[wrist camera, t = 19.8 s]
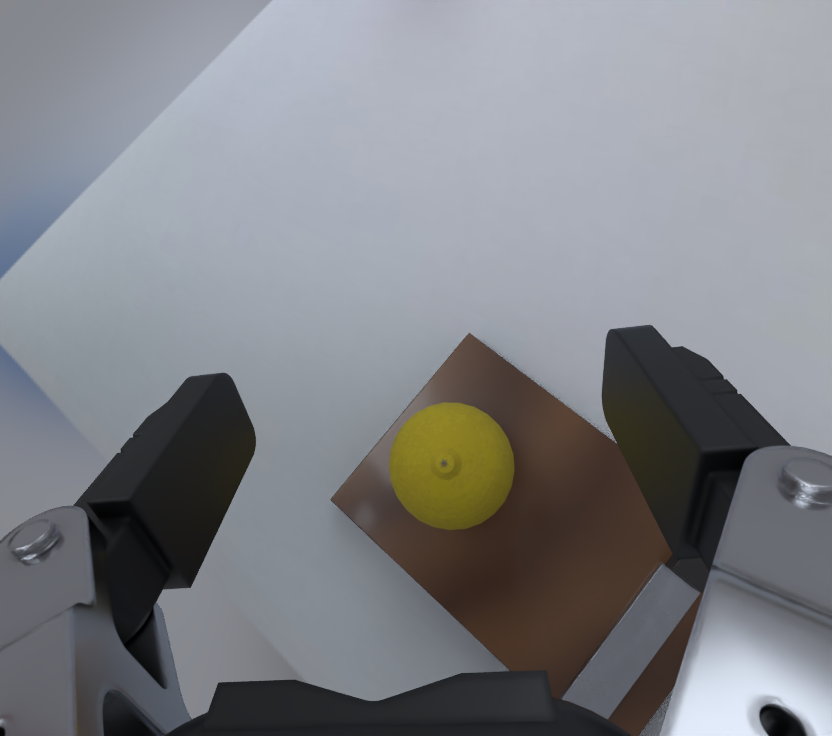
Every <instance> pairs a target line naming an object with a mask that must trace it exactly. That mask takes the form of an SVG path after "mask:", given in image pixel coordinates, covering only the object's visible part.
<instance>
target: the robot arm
mask: <svg viewBox="0 0 832 736" xmlns="http://www.w3.org/2000/svg"><path fill="white" fill-rule="evenodd" d="M602 405H603V411H604V415H605V419H606V421H607V424H608V426H609V428H610V430H611V432H612V434H613V436H614V438H615V440H616V442H617V444H618V446H619V448H620V450H621V452H622V454H623V456H624V458H625V460H626V462H627V464H628V466H629V468H630V470H631V472H632V474H633V476H634V478H635V480H636V482H637V484H638V486H639V488H640V490H641V492H642V494H643V496H644V498H645V500H646V502H647V504H648V506H649V508H650V510H651V512H652V514H653V516H654V518H655V520H656V522H657V524H658V526H659V528H660V530H661V532H662V534H663V536H664V538H665V540H666V542H667V544H668V546H669V548H670V550H671V552H672V554H673V556H674V558H675V560H679V559H695V558H702V560H703V562H704V564H705V566H706V568H707V569H708V571H709V577H708V580H707V583H706V586H705V589H704V593H703V596H702V599H701V602H700V606H699V609H698V612H697V615H696V618H695V622H694V625H693V628H692V631H691V635H690V638H689V641H688V644H687V648H686V651H685V654H684V657H683V660H682V664H681V667H680V670H679V673H678V677H677V680H676V683H675V686H674V689H673V693H672V696H671V699H670V702H669V706H668V709H667V712H666V715H665V719H664V722H663V725H662V728H661V731H660V735H659V736H832V456H830V455H828V454H825V453H822V452H819V451H815V450H812V449H807V448H803V447H796V446H791V445H790V444H789V443H788V442H787V441H786V440H785V439H784V438H783V437H782V436H781V435H780V434H779V433H778V432H777V431H776V430H775V429H774V428H773V427H772V426H771V425H770V424H769V423H768V422H767V421H766V420H765V419H764V417H763V416H762V415H761V414H760V413H759V412H758V411H757V410H756V409H755V408H754V407H753V406H752V405H751V404H750V403H749V402H748V401H747V400H746V399H745V398H744V397H743V396H742V395H741V394H738V393H737V389H736V388H735V387H734V386H733V385H732V384H731V383H730V382H729V381H728V380H727V379H726V380H724V378H723V375H722V374H721V373H720V372H719V371H718V370H717V369H716V368H715V367H714V366H713V365H712V364H711V362H710V361H709V360H708V359H706V358H704V357H702V356H700V355H698V354H696V353H694V352H692V351H690V350H688V349H686V348H685V347H683V346H681V347H671V346H670V345H669V344H668V343H667V342H666V340H665V339H664V338H663V337H662V336H661V335H660V334H659V332H658V331H657V330H656V329H655V328H654V327H653V326H651V325H644V326H635V327H627V328H618V329H611V330H609V332H608V334H607V338H606V346H605V359H604V372H603V384H602ZM255 446H256V436H255V431H254V427H253V425H252V422H251V420H250V418H249V416H248V413H247V411H246V409H245V406H244V404H243V402H242V400H241V397H240V395H239V393H238V390H237V388H236V386H235V383H234V381H233V380H232V378H231V377H230V376H229V375H228V374H226V373H216V374H207V375H199V376H191V377H189V378H187V379H186V380H185V381H184V383H183V384H182V385H181V386H180V387H179V389H178V390H177V391H176V392H175V394H174V395H173V396H172V397H171V399H170V400H169V401H168V402H167V403H166V404H164V405H163V406H162V407H160V408H159V409H158V410H156V411H155V412H154V413H152V414H151V415H150V416H148V417H147V418H146V419H145V421H144V422H143V423H142V424H141V425H140V427H139V428H138V429H137V430H136V431H135V432H134V434H133V438H129V440H128V441H127V442H126V443H125V444H124V446H123V447H122V448H121V453H117V454H116V455H115V456H114V458H113V459H112V460H111V461H110V462H109V464H108V465H107V466H106V467H105V468H104V470H103V471H102V472H101V473H100V475H99V476H98V477H97V478H96V479H95V480H94V482H93V483H92V484H91V485H90V487H88V489H87V490H86V491H85V492H84V493H83V495H82V496H81V497H80V498H79V499H78V501H77V502H76V503H75V504H74V505H73V506H62V507H58V508H54V509H51V510H48V511H45V512H43V513H41V514H39V515H36V516H34V517H32V518H31V519H29V520H27V521H26V522H24V523H22V524H21V525H19V526H18V527H16V528H15V529H13V530H12V531H11V532H10V533H8V534H7V535H6V536H5V537H4V538H3V539H2V540H0V736H632V735H630V734H629V733H628V732H626V731H625V730H623V729H622V728H620V727H619V726H618V725H616V724H615V723H613V722H611V721H609V720H608V719H606V718H604V717H602V716H600V715H599V714H597V713H595V712H593V711H591V710H589V709H586V708H584V707H581V706H579V705H577V704H574V703H572V702H569V701H565V700H562V699H558V698H554V697H552V695H551V689H550V684H549V679H548V674H547V670H535V671H509V672H482V673H461V674H458V675H455V676H452V677H449V678H446V679H443V680H440V681H437V682H434V683H431V684H428V685H425V686H422V687H419V688H416V689H413V690H410V691H407V692H404V693H401V694H398V695H395V696H392V697H390V698H387V699H384V700H380V701H366V700H362V699H359V698H355V697H352V696H349V695H345V694H342V693H338V692H335V691H331V690H328V689H325V688H321V687H318V686H314V685H311V684H307V683H304V682H300V681H297V680H274V681H249V682H222V683H218V685H217V688H216V691H215V694H214V697H213V699H212V702H211V705H210V708H209V711H208V712H207V713H205V714H203V715H201V716H198V717H196V718H194V719H191V717H190V715H189V713H188V711H187V709H186V707H185V704H184V702H183V698H182V695H181V691H180V686H179V682H178V677H177V673H176V668H175V664H174V659H173V655H172V651H171V647H170V641H169V637H168V633H167V628H166V624H165V619H164V615H163V612H162V609H161V608H160V606H159V605H158V604H157V603H156V601H157V599H158V597H159V595H160V593H161V592H162V590H163V589H175V588H191V586H192V584H193V582H194V580H195V577H196V575H197V573H198V571H199V569H200V567H201V565H202V563H203V561H204V558H205V556H206V554H207V552H208V550H209V548H210V546H211V544H212V542H213V539H214V537H215V535H216V533H217V531H218V529H219V527H220V525H221V523H222V520H223V518H224V516H225V514H226V512H227V510H228V508H229V506H230V504H231V501H232V499H233V497H234V495H235V493H236V491H237V489H238V487H239V485H240V482H241V480H242V478H243V476H244V474H245V472H246V470H247V468H248V466H249V463H250V461H251V459H252V457H253V455H254V452H255Z"/></svg>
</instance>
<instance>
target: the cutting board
mask: <svg viewBox="0 0 832 736" xmlns="http://www.w3.org/2000/svg"><path fill="white" fill-rule="evenodd" d="M444 402H447V403H462V404H466V405H469V406H473V407H476V408H477V409H479V410H481V411H483V412H485V413H486V414H488V415H489V416H490V417H491V418H492V419H493V420H494V421H495V422H497V423H498V424H499V425H500V427H501V428H502V430H503V431H504V433H505V435H506V436H507V438H508V440H509V443H510V446H511V449H512V452H513V455H514V470H515V471H514V477H513V482H512V487H511V489H510V491H509V494H508V496H507V498H506V500H505V502H504V503H503V504H502V506H501V507H500V508H499V509H498V510H497V511H496V513H495V514H494V515H492V516H491V517H489V518H488V519H487V520H485V521H484V522H482V523H481V524H478V525H475V526H472V527H470V528H467V529H458V530H446V529H441V528H435V527H432V526H430V525H428V524H426V523H423V522H421V521H419V520H418V519H417V518H415V517H414V516H413V515H412V514H411V513H409V512H408V511H407V510H406V509H405V507H404V506H403V505H402V503H401V502H400V500H399V499H398V498H397V496H396V493H395V491H394V488H393V486H392V483H391V480H390V472H389V459H390V450H391V447H392V445H393V442H394V439H395V436H396V435H397V433H398V432H399V430H400V429H401V427H402V426H403V424H404V423H405V422H406V421H407V420H408V419H410V418H411V417H412V416H413V415H414V414H415V413H417V412H419V411H421V410H422V409H424V408H426V407H428V406H431V405H435V404H439V403H444ZM331 501H332V502H333V503H334V504H335V505H336V506H337V507H338V508H339V509H341V510H342V511H343V512H344V513H345V514H346V515H347V516H348V517H349V518H350V519H351V520H352V521H353V522H354V523H355V524H356V525H357V526H358V527H360V528H361V529H362V530H363V531H364V532H365V533H366V534H367V535H368V536H369V537H370V538H371V539H372V540H373V541H374V542H375V543H376V544H377V545H378V546H380V547H381V548H382V549H383V550H384V551H385V552H386V553H387V554H388V555H389V556H390V557H391V558H392V559H393V560H394V561H395V562H396V563H397V564H398V565H400V566H401V567H402V568H403V569H404V570H405V571H406V572H407V573H408V574H409V575H410V576H411V577H412V578H413V579H414V580H415V581H416V582H417V583H419V584H420V585H421V586H422V587H423V588H424V589H425V590H426V591H427V592H428V593H429V594H430V595H431V596H432V597H433V598H434V599H435V600H436V601H437V602H439V603H440V604H441V605H442V606H443V607H444V608H445V609H446V610H447V611H448V612H449V613H450V614H451V615H452V616H453V617H454V618H455V619H456V620H457V621H459V622H460V623H461V624H462V625H463V626H464V627H465V628H466V629H467V630H468V631H469V632H470V633H471V634H472V635H473V636H474V637H475V638H476V639H478V640H479V641H480V642H481V643H482V644H483V645H484V646H485V647H486V648H487V649H488V650H489V651H490V652H491V653H492V654H493V655H494V656H495V657H496V658H498V659H499V660H500V661H501V662H502V663H503V664H504V665H505V666H506V667H507V668H508V669H509V670H510V671H535V670H547V674H548V679H549V684H550V689H551V695H552V697H554V698H558V699H560V696H561V695H562V693H563V692H564V691H565V689H566V688H567V687H568V685H569V684H570V683H571V681H572V680H573V679H574V677H575V676H576V675H577V673H578V672H579V671H580V669H581V668H582V667H583V665H584V664H585V663H586V661H587V660H588V659H589V657H590V656H591V655H592V653H593V652H594V651H595V649H596V648H597V647H598V645H599V644H600V643H601V641H602V640H603V639H604V637H605V636H606V635H607V633H608V632H609V631H610V629H611V628H612V627H613V625H614V624H615V623H616V621H617V620H618V619H619V617H620V616H621V615H622V613H623V612H624V610H625V609H626V608H627V606H628V605H629V604H630V602H631V601H632V600H633V598H634V597H635V596H636V594H637V593H638V592H639V590H640V589H641V588H642V586H643V585H644V584H645V582H646V581H647V580H648V578H649V577H650V576H651V574H652V573H653V572H654V570H655V569H656V568H657V566H658V565H659V564H660V562H662V563H664V564H666V562H667V561H668V560H669V558H670V557H671V556H672V552H671V550H670V548H669V546H668V544H667V542H666V540H665V538H664V536H663V534H662V532H661V530H660V528H659V526H658V524H657V522H656V520H655V518H654V516H653V514H652V512H651V510H650V508H649V506H648V504H647V502H646V500H645V498H644V496H643V494H642V492H641V490H640V488H639V486H638V484H637V482H636V480H635V478H634V476H633V474H632V472H631V470H630V468H629V466H628V464H627V462H626V460H625V458H624V456H623V454H622V452H621V450H620V448H619V446H618V444H616V443H615V442H614V441H612V440H611V439H610V438H608V437H607V436H606V435H604V434H603V433H602V432H600V431H599V430H598V429H596V428H595V427H594V426H592V425H591V424H590V423H588V422H587V421H586V420H584V419H583V418H582V417H580V416H579V415H578V414H576V413H575V412H574V411H572V410H571V409H570V408H568V407H567V406H566V405H564V404H563V403H562V402H560V401H559V400H558V399H556V398H555V397H554V396H552V395H551V394H550V393H549V392H547V391H546V390H545V389H543V388H542V387H541V386H539V385H538V384H537V383H535V382H534V381H533V380H531V379H530V378H529V377H527V376H526V375H525V374H523V373H522V372H521V371H519V370H518V369H517V368H515V367H514V366H513V365H511V364H510V363H509V362H507V361H506V360H505V359H503V358H502V357H501V356H499V355H498V354H497V353H495V352H494V351H493V350H491V349H490V348H489V347H487V346H486V345H485V344H483V343H482V342H481V341H479V340H478V339H477V338H475V337H474V336H473V335H471V334H470V333H469V334H468V335H467V336H466V337H465V338H464V339H463V341H462V342H461V343H460V344H459V346H458V347H457V348H456V349H455V350H454V352H453V353H452V354H451V355H450V356H449V358H448V359H447V360H446V361H445V362H444V364H443V365H442V366H441V367H440V368H439V370H438V371H437V372H436V373H435V374H434V376H433V377H432V378H431V379H430V380H429V382H428V383H427V384H426V385H425V386H424V388H423V389H422V390H421V391H420V392H419V394H418V395H417V396H416V397H415V398H414V400H413V401H412V402H411V403H410V404H409V406H408V407H407V408H406V409H405V410H404V412H403V413H402V414H401V415H400V416H399V418H398V419H397V420H396V421H395V422H394V424H393V425H392V426H391V427H390V428H389V430H388V431H387V432H386V433H385V434H384V436H383V437H382V438H381V439H380V440H379V442H378V443H377V444H376V445H375V446H374V448H373V449H372V450H371V451H370V452H369V454H368V455H367V456H366V457H365V459H364V460H363V461H362V462H361V463H360V465H359V466H358V467H357V468H356V469H355V471H354V472H353V473H352V474H351V475H350V477H349V478H348V479H347V480H346V481H345V483H344V484H343V485H342V486H341V487H340V489H339V490H338V491H337V492H336V493H335V495H334V496H333V497H332V498H331ZM697 591H698V590H697ZM699 592H700V591H699ZM702 596H703V593H702V592H700V594H699V596H698V597H697V598H696V600H695V601H694V603H693V604H692V605H691V607H690V608H689V609H688V611H687V612H686V613H685V615H684V616H683V618H682V619H681V620H680V622H679V623H678V624H677V626H676V627H675V628H674V630H673V631H672V633H671V634H670V635H669V637H668V638H667V639H666V641H665V642H664V643H663V645H662V646H661V648H660V649H659V650H658V652H657V653H656V654H655V656H654V657H653V658H652V660H651V661H650V663H649V664H648V665H647V667H646V668H645V669H644V671H643V672H642V673H641V675H640V676H639V678H638V679H637V680H636V682H635V683H634V684H633V686H632V687H631V688H630V690H629V691H628V693H627V694H626V695H625V697H624V698H623V699H622V701H621V702H620V703H619V705H618V706H617V708H616V709H615V710H614V712H613V713H612V714H611V716H610V717H609V718H608V720H609V721H611V722H613V723H615V724H616V725H618V726H619V727H620V728H622V729H623V730H625V731H626V732H628V733H629V734H630V735H632V736H639V734H640V733H641V732H642V730H643V729H644V727H645V726H646V725H647V723H648V722H649V721H650V719H651V718H652V716H653V715H654V714H655V712H656V711H657V710H658V708H659V707H660V705H661V704H662V703H663V701H664V700H665V698H666V697H667V696H668V694H669V693H670V692H671V690H672V689H673V687H674V686H675V683H676V680H677V677H678V673H679V670H680V667H681V664H682V660H683V657H684V654H685V651H686V648H687V644H688V641H689V638H690V635H691V631H692V628H693V625H694V622H695V618H696V615H697V612H698V609H699V606H700V602H701V599H702Z"/></svg>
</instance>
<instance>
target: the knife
mask: <svg viewBox="0 0 832 736" xmlns="http://www.w3.org/2000/svg"><path fill="white" fill-rule="evenodd" d="M708 577H709V571H708V569H707V568H706V566H705V564H704V562H703V560H702V558H695V559H679V560H675V558H674V556H673V554H672V556H671V557H670V558H669V560H668V561H667V562H666V564H664V563H662V562H660V564H659V565H658V566H657V568H656V569H655V570H654V572H653V573H652V574H651V576H650V577H649V578H648V580H647V581H646V582H645V584H644V585H643V586H642V588H641V589H640V590H639V592H638V593H637V594H636V596H635V597H634V598H633V600H632V601H631V602H630V604H629V605H628V606H627V608H626V609H625V610H624V612H623V613H622V615H621V616H620V617H619V619H618V620H617V621H616V623H615V624H614V625H613V627H612V628H611V629H610V631H609V632H608V633H607V635H606V636H605V637H604V639H603V640H602V641H601V643H600V644H599V645H598V647H597V648H596V649H595V651H594V652H593V653H592V655H591V656H590V657H589V659H588V660H587V661H586V663H585V664H584V665H583V667H582V668H581V669H580V671H579V672H578V673H577V675H576V676H575V677H574V679H573V680H572V681H571V683H570V684H569V685H568V687H567V688H566V689H565V691H564V692H563V693H562V695H561V696H560V699H562V700H565V701H569V702H572V703H574V704H577V705H579V706H581V707H584V708H586V709H589V710H591V711H593V712H595V713H597V714H599V715H600V716H602V717H604V718H606V719H608V718H609V717H610V716H611V714H612V713H613V712H614V710H615V709H616V708H617V706H618V705H619V703H620V702H621V701H622V699H623V698H624V697H625V695H626V694H627V693H628V691H629V690H630V688H631V687H632V686H633V684H634V683H635V682H636V680H637V679H638V678H639V676H640V675H641V673H642V672H643V671H644V669H645V668H646V667H647V665H648V664H649V663H650V661H651V660H652V658H653V657H654V656H655V654H656V653H657V652H658V650H659V649H660V648H661V646H662V645H663V643H664V642H665V641H666V639H667V638H668V637H669V635H670V634H671V633H672V631H673V630H674V628H675V627H676V626H677V624H678V623H679V622H680V620H681V619H682V618H683V616H684V615H685V613H686V612H687V611H688V609H689V608H690V607H691V605H692V604H693V603H694V601H695V600H696V598H697V597H698V596H699V594H700V592H702V593H704V589H705V586H706V583H707V580H708ZM697 590H698V591H697ZM699 591H700V592H699Z"/></svg>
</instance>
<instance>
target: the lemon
mask: <svg viewBox="0 0 832 736" xmlns="http://www.w3.org/2000/svg"><path fill="white" fill-rule="evenodd" d="M514 471H515V470H514V455H513V452H512V449H511V446H510V443H509V440H508V438H507V436H506V435H505V433H504V431H503V430H502V428H501V427H500V425H499V424H498V423H497V422H495V421H494V420H493V419H492V418H491V417H490V416H489V415H488V414H486V413H485V412H483V411H481V410H479V409H477V408H476V407H473V406H469V405H466V404H462V403H447V402H444V403H439V404H435V405H431V406H428V407H426V408H424V409H422V410H421V411H419V412H417V413H415V414H414V415H413V416H412V417H411V418H410V419H408V420H407V421H406V422H405V423H404V424H403V426H402V427H401V429H400V430H399V432H398V433H397V435H396V436H395V439H394V442H393V445H392V447H391V450H390V459H389V472H390V480H391V483H392V486H393V488H394V491H395V493H396V496H397V498H398V499H399V500H400V502H401V503H402V505H403V506H404V507H405V509H406V510H407V511H408V512H409V513H411V514H412V515H413V516H414V517H415V518H417V519H418V520H419V521H421V522H423V523H426V524H428V525H430V526H432V527H435V528H441V529H446V530H458V529H467V528H470V527H472V526H475V525H478V524H481V523H482V522H484V521H485V520H487V519H488V518H489V517H491V516H492V515H494V514H495V513H496V511H497V510H498V509H499V508H500V507H501V506H502V504H503V503H504V502H505V500H506V498H507V496H508V494H509V491H510V489H511V487H512V482H513V477H514Z"/></svg>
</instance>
